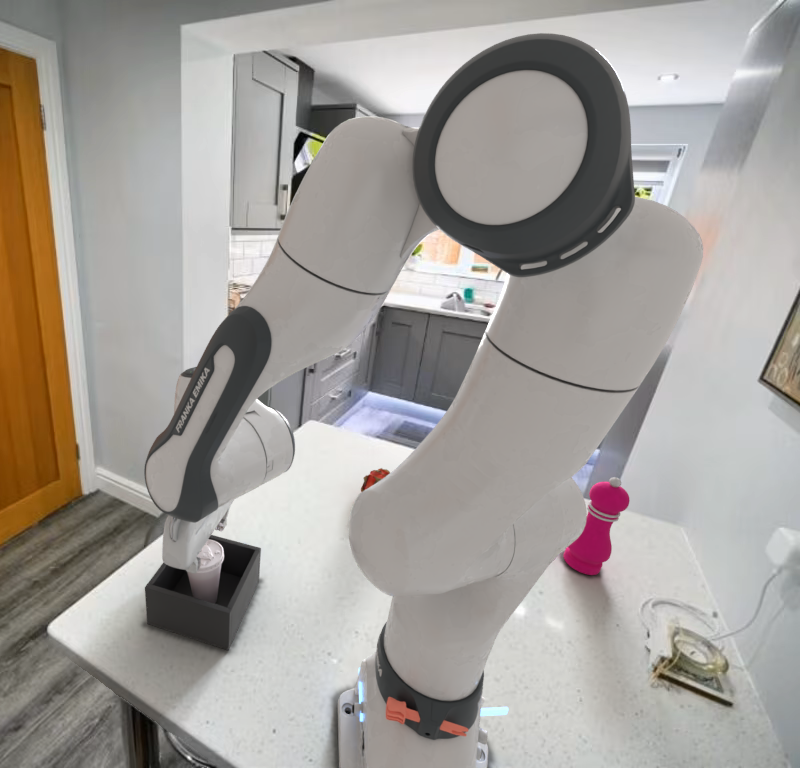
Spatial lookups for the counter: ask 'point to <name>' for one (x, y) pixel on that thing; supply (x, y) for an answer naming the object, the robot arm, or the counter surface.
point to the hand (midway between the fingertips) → (207, 547)
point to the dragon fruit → (374, 478)
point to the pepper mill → (597, 527)
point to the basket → (199, 618)
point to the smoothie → (207, 572)
